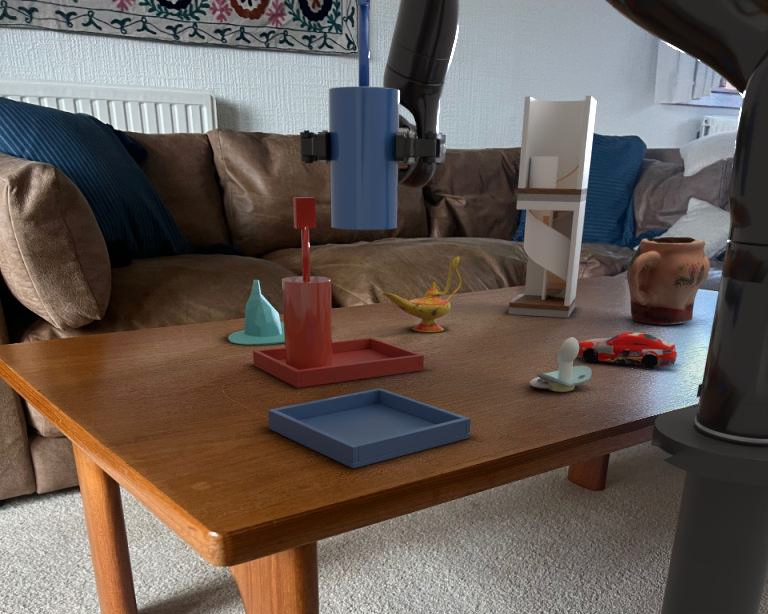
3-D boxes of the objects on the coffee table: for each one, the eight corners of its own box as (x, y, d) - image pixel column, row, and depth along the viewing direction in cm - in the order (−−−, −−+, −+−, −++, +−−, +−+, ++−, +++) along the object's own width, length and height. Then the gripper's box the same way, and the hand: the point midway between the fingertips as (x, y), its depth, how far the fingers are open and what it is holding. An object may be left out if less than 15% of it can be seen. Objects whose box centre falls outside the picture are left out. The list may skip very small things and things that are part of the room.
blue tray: (379, 405, 86) (380, 387, 86) (469, 438, 76) (470, 418, 75) (268, 428, 78) (267, 409, 77) (353, 468, 68) (352, 447, 67)
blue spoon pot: (336, 224, 74) (332, -34, 65) (400, 225, 73) (404, -35, 65) (325, 229, 68) (320, -52, 60) (394, 230, 68) (398, -53, 59)
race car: (571, 361, 107) (574, 332, 106) (580, 354, 112) (583, 325, 110) (671, 372, 102) (676, 341, 100) (676, 363, 106) (681, 334, 105)
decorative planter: (665, 335, 125) (679, 244, 119) (596, 325, 132) (607, 238, 127) (715, 320, 138) (729, 237, 133) (650, 311, 146) (661, 232, 140)
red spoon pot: (319, 360, 104) (315, 196, 96) (340, 370, 99) (338, 198, 91) (277, 365, 101) (270, 196, 93) (298, 375, 96) (292, 198, 88)
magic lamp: (364, 333, 123) (364, 261, 119) (444, 321, 134) (447, 254, 130) (394, 340, 119) (395, 265, 114) (474, 327, 130) (478, 257, 125)
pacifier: (517, 387, 95) (555, 397, 90) (520, 335, 92) (559, 342, 88) (559, 379, 99) (596, 388, 94) (563, 329, 96) (602, 335, 92)
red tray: (371, 351, 112) (371, 337, 111) (423, 370, 102) (424, 355, 101) (253, 365, 103) (252, 350, 102) (297, 388, 93) (296, 371, 92)
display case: (518, 304, 152) (534, 101, 138) (574, 308, 149) (596, 101, 135) (508, 313, 142) (524, 96, 128) (567, 317, 139) (591, 95, 125)
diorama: (346, 327, 128) (346, 273, 125) (270, 349, 112) (267, 287, 109) (287, 320, 134) (285, 267, 130) (206, 339, 118) (202, 280, 115)
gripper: (312, 108, 80) (274, 95, 65) (452, 109, 79) (448, 96, 63) (314, 187, 83) (278, 193, 68) (449, 189, 82) (444, 195, 66)
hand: (361, 146), depth 66 cm, fingers closed on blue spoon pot, 6 cm apart
